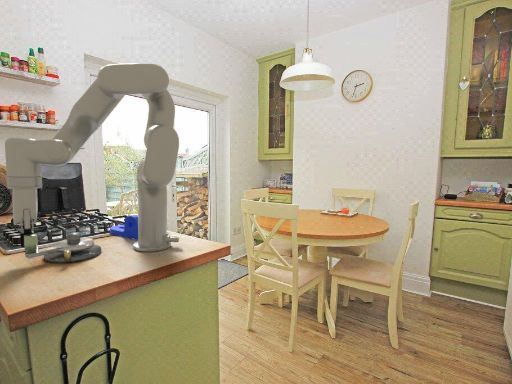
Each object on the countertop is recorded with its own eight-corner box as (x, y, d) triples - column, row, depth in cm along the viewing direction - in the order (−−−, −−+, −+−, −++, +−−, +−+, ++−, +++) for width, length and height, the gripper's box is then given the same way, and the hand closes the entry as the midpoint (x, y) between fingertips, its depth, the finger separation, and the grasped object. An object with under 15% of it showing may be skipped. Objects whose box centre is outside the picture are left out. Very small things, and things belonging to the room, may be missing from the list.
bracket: (153, 235, 111) (153, 213, 110) (137, 240, 103) (137, 217, 102) (123, 228, 118) (122, 208, 117) (105, 232, 111) (105, 211, 110)
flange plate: (82, 239, 93) (82, 221, 92) (101, 245, 87) (101, 227, 87) (16, 253, 77) (15, 232, 76) (34, 262, 72) (33, 240, 71)
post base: (108, 246, 94) (108, 236, 93) (86, 264, 78) (86, 251, 78) (61, 246, 92) (61, 235, 91) (29, 264, 76) (28, 251, 75)
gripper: (7, 180, 79) (11, 241, 81) (5, 185, 68) (9, 256, 70) (40, 180, 84) (43, 237, 86) (43, 185, 73) (46, 250, 75)
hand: (28, 245), depth 78 cm, fingers closed
